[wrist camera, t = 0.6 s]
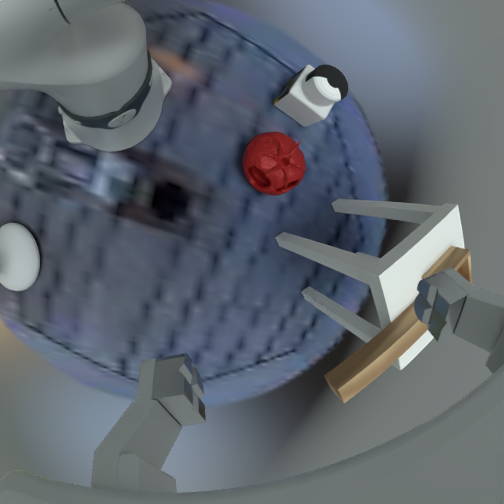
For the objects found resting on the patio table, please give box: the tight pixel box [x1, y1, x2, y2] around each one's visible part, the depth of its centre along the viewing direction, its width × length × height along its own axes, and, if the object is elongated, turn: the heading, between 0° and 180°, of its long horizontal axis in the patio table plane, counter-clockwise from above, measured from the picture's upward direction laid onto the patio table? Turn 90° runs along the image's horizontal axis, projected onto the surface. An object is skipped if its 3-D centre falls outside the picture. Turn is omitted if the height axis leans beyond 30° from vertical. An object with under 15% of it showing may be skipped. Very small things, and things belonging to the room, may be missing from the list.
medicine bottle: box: [274, 65, 348, 127], centre depth 39 cm, size 7×7×12 cm
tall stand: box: [275, 199, 464, 370], centre depth 39 cm, size 14×15×26 cm
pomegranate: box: [242, 132, 306, 195], centre depth 41 cm, size 10×10×9 cm
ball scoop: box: [325, 246, 472, 403], centre depth 24 cm, size 6×20×3 cm, turn 118°
